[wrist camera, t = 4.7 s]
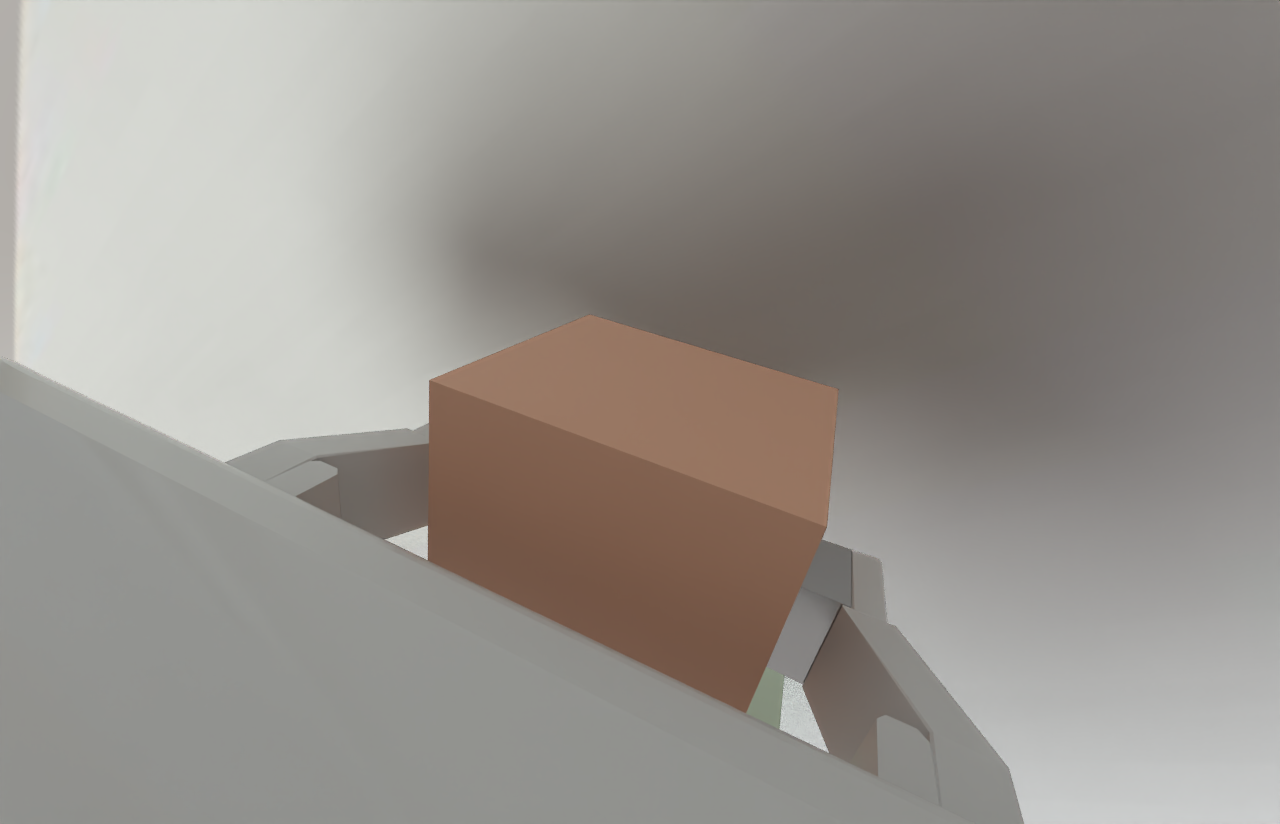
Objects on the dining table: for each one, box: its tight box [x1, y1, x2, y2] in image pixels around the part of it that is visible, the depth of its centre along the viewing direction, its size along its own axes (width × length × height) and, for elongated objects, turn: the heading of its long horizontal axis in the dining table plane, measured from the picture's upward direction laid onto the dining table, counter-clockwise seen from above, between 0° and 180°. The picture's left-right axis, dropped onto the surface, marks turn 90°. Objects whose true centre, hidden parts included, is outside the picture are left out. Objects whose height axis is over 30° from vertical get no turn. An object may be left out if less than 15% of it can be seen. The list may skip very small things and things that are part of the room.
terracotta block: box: [428, 314, 839, 713], centre depth 10 cm, size 6×6×5 cm
